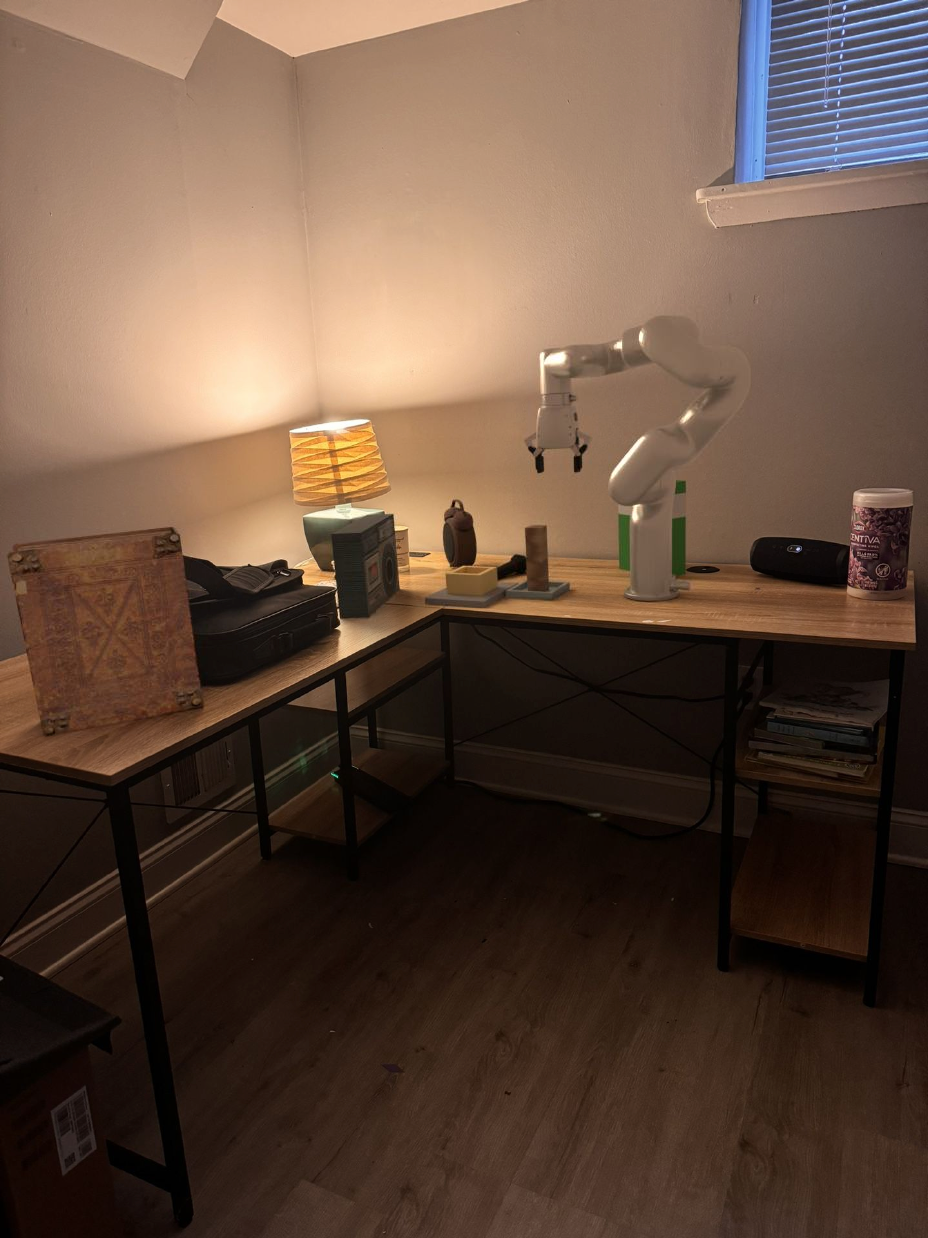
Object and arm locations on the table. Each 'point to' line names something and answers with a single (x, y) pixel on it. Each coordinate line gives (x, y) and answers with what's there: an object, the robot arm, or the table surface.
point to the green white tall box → (677, 532)
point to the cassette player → (365, 565)
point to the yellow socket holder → (470, 588)
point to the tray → (522, 591)
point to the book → (106, 628)
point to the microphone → (512, 566)
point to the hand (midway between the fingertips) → (558, 472)
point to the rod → (537, 558)
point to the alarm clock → (459, 536)
